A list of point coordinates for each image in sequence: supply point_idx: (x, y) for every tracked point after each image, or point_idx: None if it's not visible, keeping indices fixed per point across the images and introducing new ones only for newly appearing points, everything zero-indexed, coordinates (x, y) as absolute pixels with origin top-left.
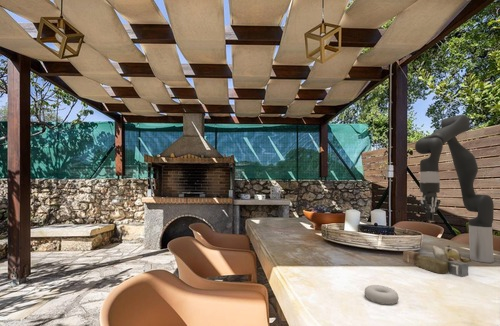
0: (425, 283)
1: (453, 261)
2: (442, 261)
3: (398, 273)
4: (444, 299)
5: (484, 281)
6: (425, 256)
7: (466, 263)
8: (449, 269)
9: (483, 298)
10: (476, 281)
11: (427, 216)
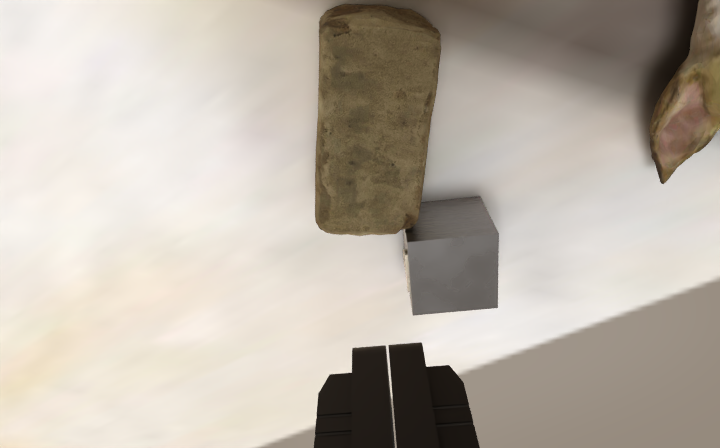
0: (80, 276)
1: (453, 249)
2: (382, 215)
3: (36, 98)
4: (13, 409)
5: (444, 343)
6: (410, 53)
7: (485, 305)
8: None
9: (193, 441)
10: (401, 332)
11: (317, 435)
